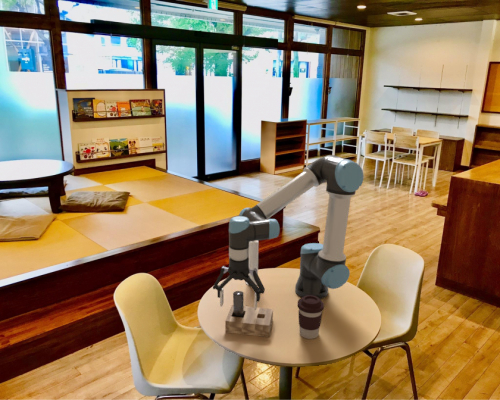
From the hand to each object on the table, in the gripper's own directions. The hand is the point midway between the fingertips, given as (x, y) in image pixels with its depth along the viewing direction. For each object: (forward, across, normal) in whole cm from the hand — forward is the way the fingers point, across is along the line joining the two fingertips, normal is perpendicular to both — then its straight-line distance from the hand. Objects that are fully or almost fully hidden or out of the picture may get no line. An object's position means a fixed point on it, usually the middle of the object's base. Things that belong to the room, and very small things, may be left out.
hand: (238, 306), depth 166 cm
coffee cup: (+8, -28, +1) cm, 29 cm away
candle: (+8, 0, -36) cm, 37 cm away
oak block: (+8, -4, 0) cm, 9 cm away
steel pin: (+7, 0, 0) cm, 7 cm away
